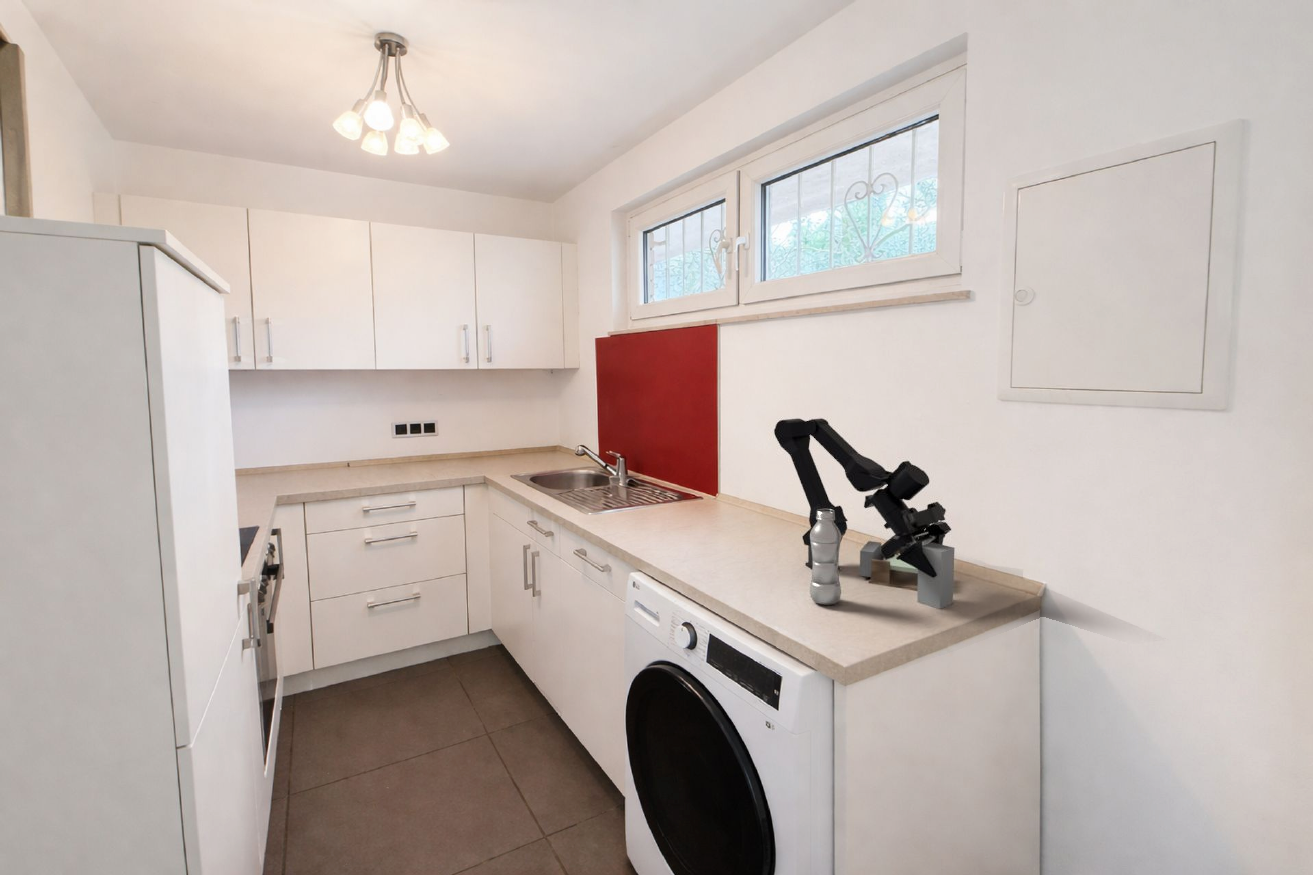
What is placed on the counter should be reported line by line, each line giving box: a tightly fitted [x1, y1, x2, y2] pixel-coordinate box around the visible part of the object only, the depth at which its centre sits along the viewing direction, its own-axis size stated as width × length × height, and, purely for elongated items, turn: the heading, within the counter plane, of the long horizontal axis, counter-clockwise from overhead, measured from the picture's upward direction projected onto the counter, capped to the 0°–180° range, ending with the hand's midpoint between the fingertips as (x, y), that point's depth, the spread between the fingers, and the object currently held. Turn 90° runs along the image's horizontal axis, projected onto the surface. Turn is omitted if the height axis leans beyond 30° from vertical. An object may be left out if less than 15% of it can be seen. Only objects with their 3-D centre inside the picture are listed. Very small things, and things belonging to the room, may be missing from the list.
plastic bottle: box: [809, 509, 842, 606], centre depth 129 cm, size 6×7×20 cm
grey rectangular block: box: [916, 543, 955, 610], centre depth 128 cm, size 5×5×12 cm
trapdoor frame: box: [868, 550, 918, 591], centre depth 142 cm, size 16×12×6 cm
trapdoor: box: [859, 540, 918, 578], centre depth 143 cm, size 16×9×6 cm, turn 59°
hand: (942, 573), depth 127 cm, fingers closed on grey rectangular block, 5 cm apart
